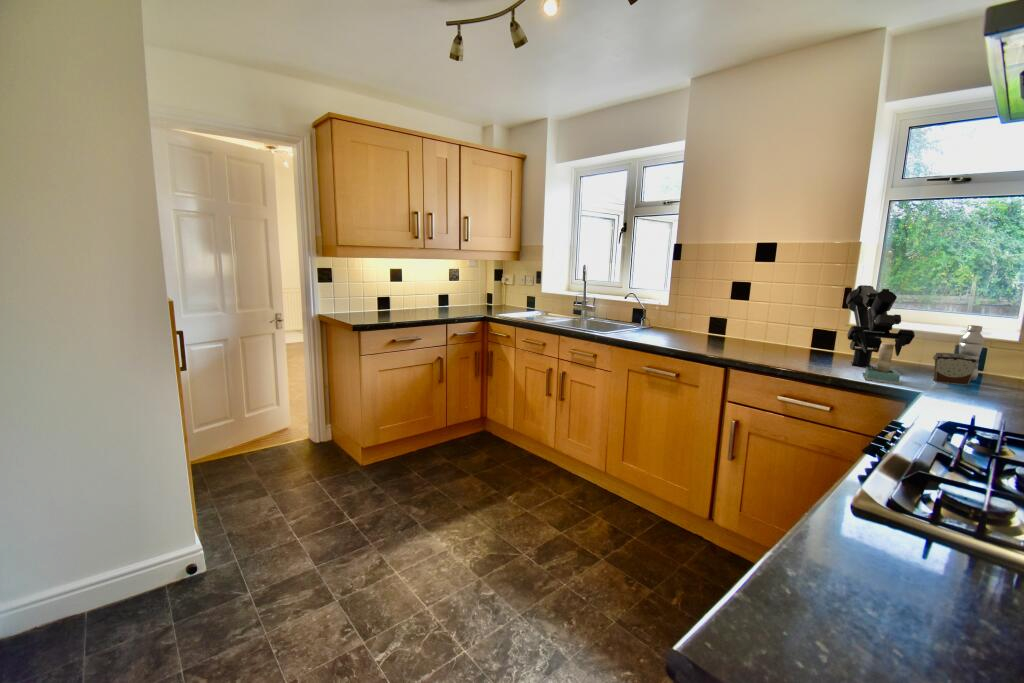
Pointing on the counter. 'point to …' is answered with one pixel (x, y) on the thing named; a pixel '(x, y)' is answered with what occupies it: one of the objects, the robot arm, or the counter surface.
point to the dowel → (885, 357)
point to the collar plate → (882, 376)
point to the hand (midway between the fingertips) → (881, 353)
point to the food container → (954, 368)
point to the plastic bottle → (972, 345)
